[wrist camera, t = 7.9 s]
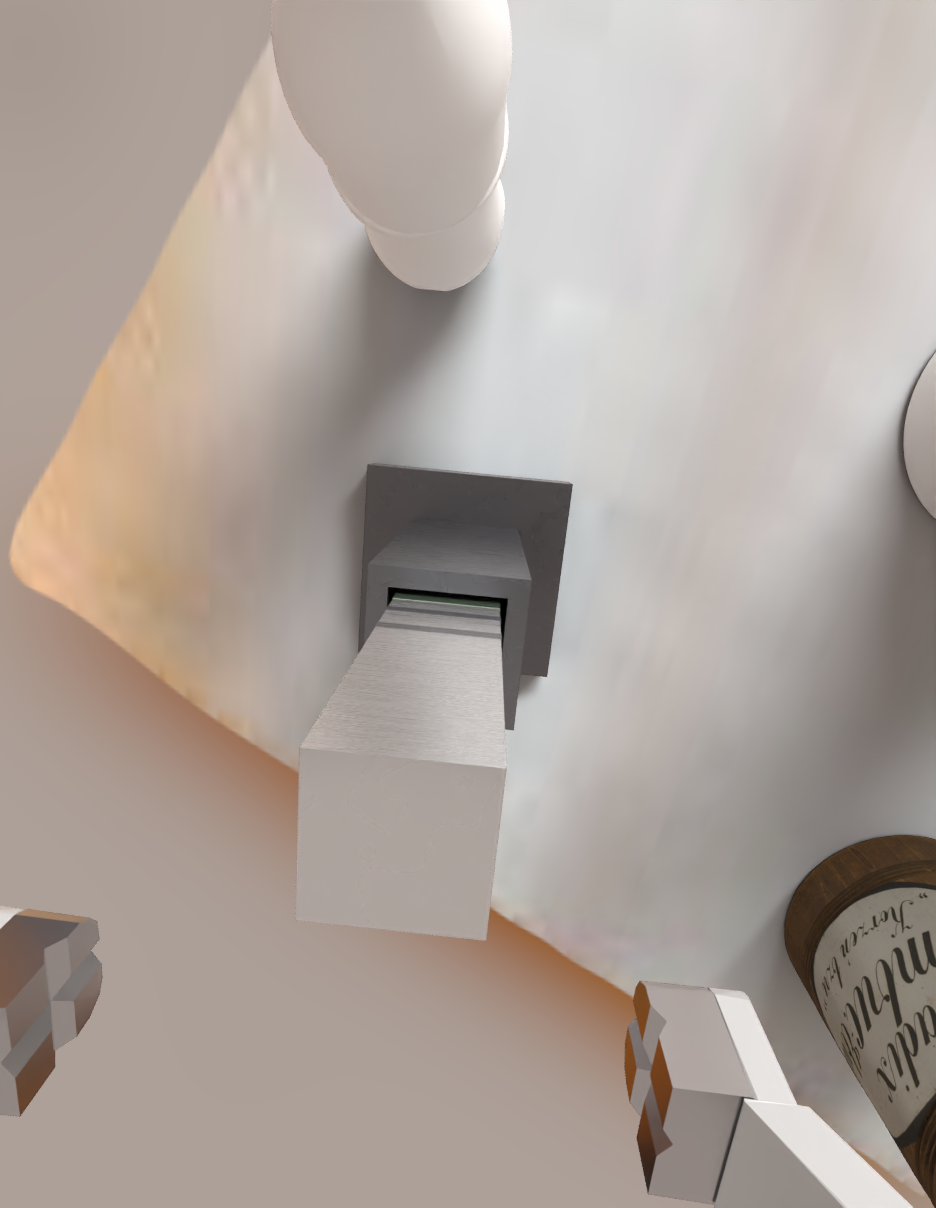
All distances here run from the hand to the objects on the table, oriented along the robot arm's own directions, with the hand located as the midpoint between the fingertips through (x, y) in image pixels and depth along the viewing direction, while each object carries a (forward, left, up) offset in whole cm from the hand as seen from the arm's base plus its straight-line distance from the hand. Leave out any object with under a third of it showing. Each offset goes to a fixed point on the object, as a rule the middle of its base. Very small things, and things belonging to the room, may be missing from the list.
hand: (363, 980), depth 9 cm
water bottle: (+3, -19, -32) cm, 37 cm away
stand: (0, 0, -31) cm, 31 cm away
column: (0, 0, -23) cm, 23 cm away
